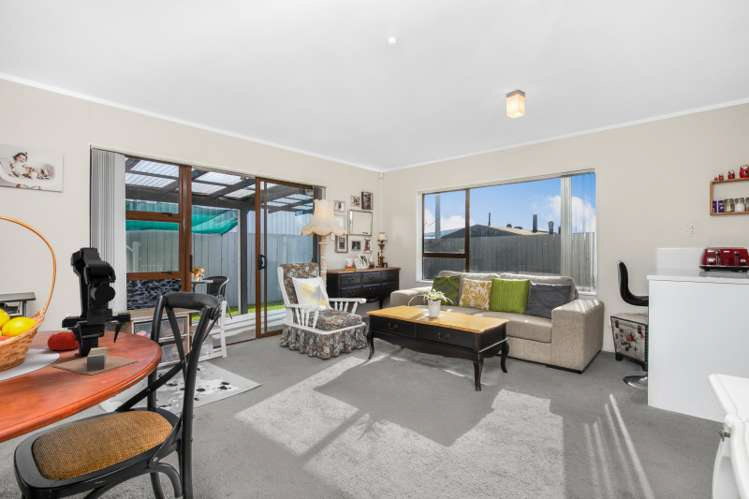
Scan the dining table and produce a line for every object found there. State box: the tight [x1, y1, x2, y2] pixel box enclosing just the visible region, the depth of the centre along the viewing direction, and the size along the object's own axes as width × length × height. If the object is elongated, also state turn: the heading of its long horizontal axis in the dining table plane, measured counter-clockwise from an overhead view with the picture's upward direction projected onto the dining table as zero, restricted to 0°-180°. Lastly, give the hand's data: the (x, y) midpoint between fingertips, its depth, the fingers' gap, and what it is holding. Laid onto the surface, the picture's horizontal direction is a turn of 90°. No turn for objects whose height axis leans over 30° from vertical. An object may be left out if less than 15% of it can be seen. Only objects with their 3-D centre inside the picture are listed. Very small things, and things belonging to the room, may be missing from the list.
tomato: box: [46, 331, 79, 351], centre depth 144 cm, size 10×11×6 cm
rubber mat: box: [52, 354, 139, 377], centre depth 126 cm, size 21×15×1 cm
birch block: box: [87, 346, 108, 371], centre depth 124 cm, size 4×4×12 cm
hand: (98, 344), depth 125 cm, fingers open, 9 cm apart
